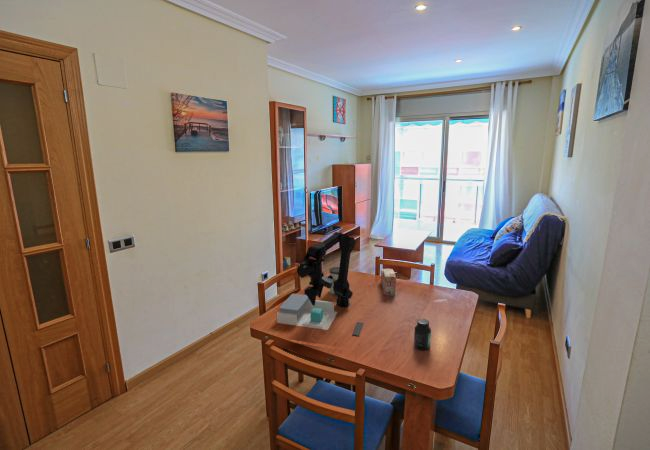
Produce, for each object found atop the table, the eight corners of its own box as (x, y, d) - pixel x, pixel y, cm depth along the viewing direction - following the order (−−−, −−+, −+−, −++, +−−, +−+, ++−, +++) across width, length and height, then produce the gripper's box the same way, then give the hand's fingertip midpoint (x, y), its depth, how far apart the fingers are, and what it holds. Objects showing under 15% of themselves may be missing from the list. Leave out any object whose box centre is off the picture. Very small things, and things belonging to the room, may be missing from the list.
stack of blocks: (380, 282, 219) (381, 264, 217) (390, 282, 219) (390, 264, 216) (384, 295, 199) (385, 276, 196) (395, 295, 198) (396, 276, 196)
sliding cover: (309, 298, 180) (309, 295, 179) (298, 314, 163) (298, 310, 163) (292, 296, 182) (292, 293, 182) (279, 311, 166) (279, 307, 165)
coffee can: (345, 288, 210) (345, 266, 207) (346, 294, 200) (346, 272, 197) (329, 288, 210) (329, 266, 207) (329, 294, 200) (329, 272, 197)
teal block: (323, 318, 170) (322, 308, 169) (320, 322, 166) (320, 313, 165) (313, 316, 172) (313, 307, 171) (310, 321, 167) (310, 312, 166)
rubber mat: (363, 323, 166) (363, 322, 166) (359, 336, 155) (359, 335, 155) (340, 320, 170) (340, 319, 170) (333, 332, 158) (333, 331, 158)
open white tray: (337, 313, 177) (337, 302, 176) (327, 331, 159) (327, 319, 158) (291, 307, 184) (291, 297, 183) (277, 324, 166) (277, 312, 165)
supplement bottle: (433, 349, 144) (434, 324, 141) (418, 351, 142) (419, 326, 140) (425, 341, 150) (426, 316, 148) (411, 343, 149) (412, 318, 146)
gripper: (326, 280, 152) (327, 311, 156) (336, 266, 170) (337, 295, 173) (303, 277, 155) (304, 309, 159) (315, 264, 173) (316, 293, 176)
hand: (316, 301), depth 167 cm, fingers open, 9 cm apart
